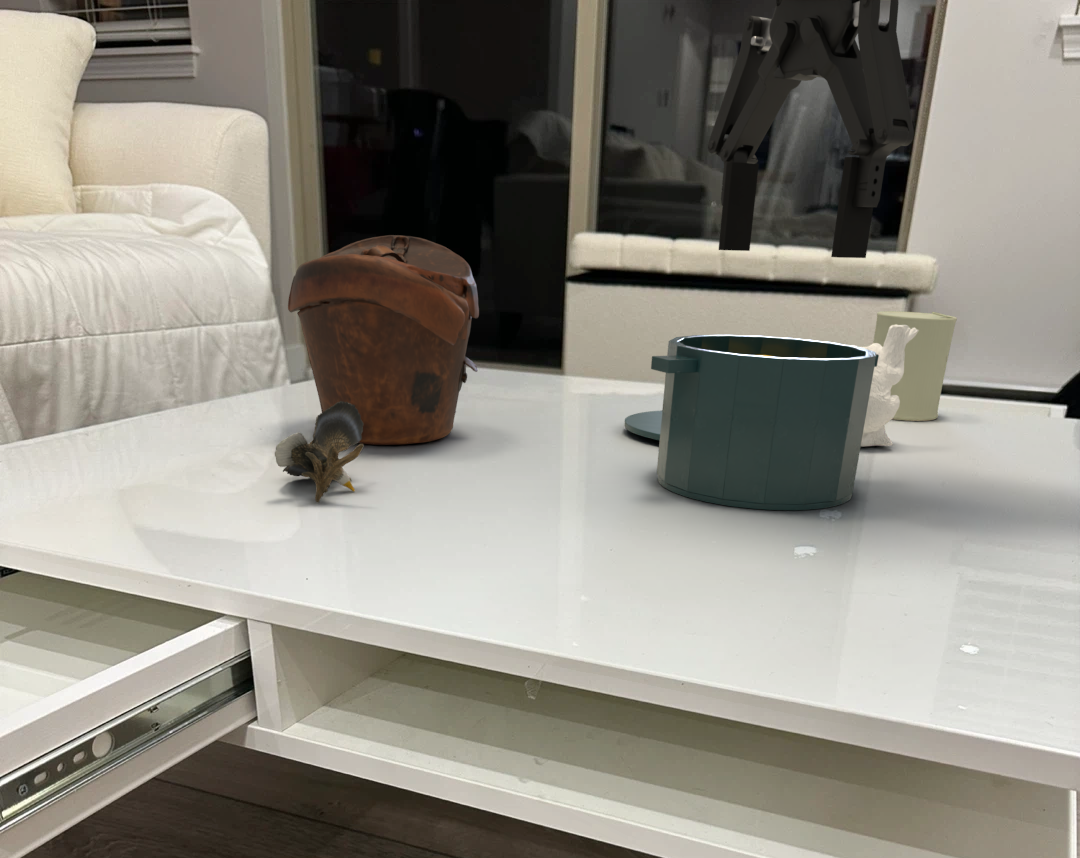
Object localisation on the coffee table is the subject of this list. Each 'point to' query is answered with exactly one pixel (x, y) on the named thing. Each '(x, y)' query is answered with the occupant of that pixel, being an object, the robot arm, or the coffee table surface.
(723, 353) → the pot
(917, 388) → the green tapered cup
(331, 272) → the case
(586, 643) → the coffee table surface
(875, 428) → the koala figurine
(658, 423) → the lid
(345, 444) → the eagle figurine
